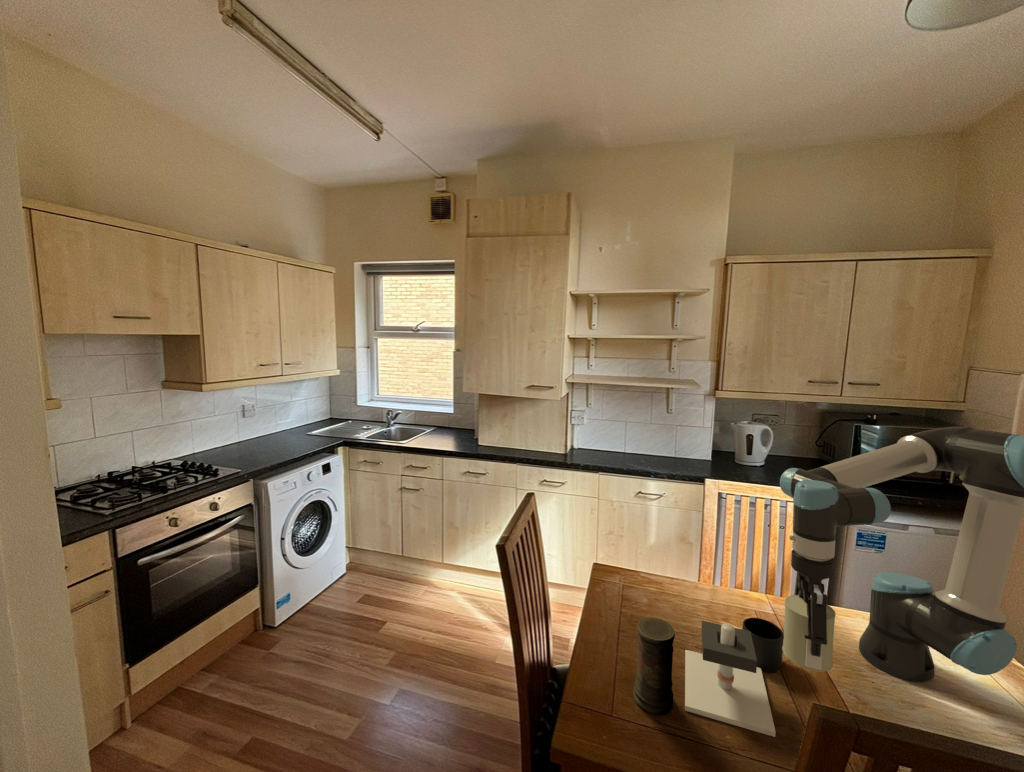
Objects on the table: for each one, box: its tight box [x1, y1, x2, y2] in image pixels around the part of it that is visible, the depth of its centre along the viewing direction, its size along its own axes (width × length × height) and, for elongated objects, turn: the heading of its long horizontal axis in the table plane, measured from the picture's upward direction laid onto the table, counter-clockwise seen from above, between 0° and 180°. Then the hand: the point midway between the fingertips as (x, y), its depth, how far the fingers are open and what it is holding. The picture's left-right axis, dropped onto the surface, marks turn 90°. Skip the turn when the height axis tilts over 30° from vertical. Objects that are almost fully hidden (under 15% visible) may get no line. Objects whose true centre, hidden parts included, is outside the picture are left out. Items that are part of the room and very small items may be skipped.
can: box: [782, 594, 837, 673], centre depth 95 cm, size 9×9×12 cm
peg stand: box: [684, 623, 776, 738], centre depth 105 cm, size 18×20×16 cm
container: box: [633, 616, 676, 716], centre depth 102 cm, size 9×9×18 cm
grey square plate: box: [701, 620, 757, 673], centre depth 104 cm, size 11×11×3 cm
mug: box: [742, 617, 784, 674], centre depth 115 cm, size 9×12×9 cm
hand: (807, 651), depth 95 cm, fingers closed on can, 9 cm apart
